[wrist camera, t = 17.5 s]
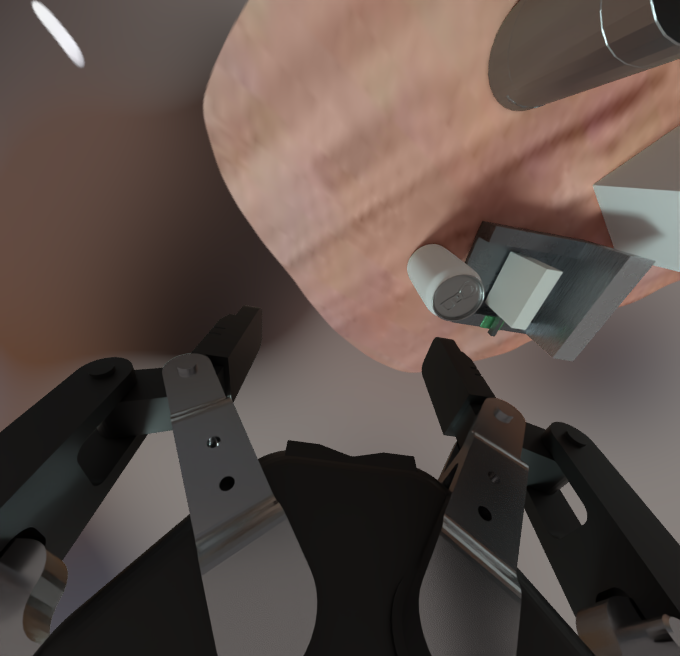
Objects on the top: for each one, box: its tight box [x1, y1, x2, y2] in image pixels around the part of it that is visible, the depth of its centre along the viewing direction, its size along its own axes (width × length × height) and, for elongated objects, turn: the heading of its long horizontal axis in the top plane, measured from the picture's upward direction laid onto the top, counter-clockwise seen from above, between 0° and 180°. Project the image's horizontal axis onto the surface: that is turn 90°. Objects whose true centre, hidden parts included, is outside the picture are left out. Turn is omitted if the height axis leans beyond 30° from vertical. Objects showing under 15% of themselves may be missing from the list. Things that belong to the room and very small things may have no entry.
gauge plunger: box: [485, 252, 563, 336], centre depth 35 cm, size 12×2×8 cm, turn 170°
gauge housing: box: [452, 221, 656, 361], centre depth 35 cm, size 14×15×10 cm
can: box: [407, 244, 485, 321], centre depth 33 cm, size 6×6×12 cm
